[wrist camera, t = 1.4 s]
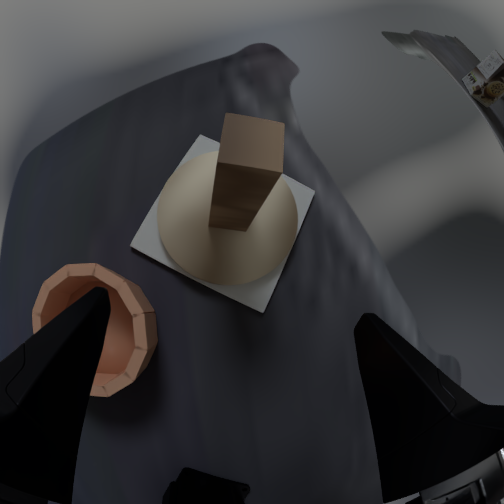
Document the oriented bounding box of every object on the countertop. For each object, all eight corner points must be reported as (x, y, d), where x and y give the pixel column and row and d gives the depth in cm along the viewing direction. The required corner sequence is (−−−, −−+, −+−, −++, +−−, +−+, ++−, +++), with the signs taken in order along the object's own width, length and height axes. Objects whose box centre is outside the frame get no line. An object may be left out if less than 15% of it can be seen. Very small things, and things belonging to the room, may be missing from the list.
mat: (313, 193, 25) (315, 191, 25) (262, 312, 22) (263, 313, 21) (200, 136, 24) (200, 134, 24) (131, 246, 21) (129, 245, 20)
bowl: (175, 305, 21) (169, 304, 16) (132, 399, 18) (118, 419, 14) (85, 254, 20) (62, 241, 16) (47, 344, 18) (20, 349, 13)
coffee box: (470, 95, 42) (507, 65, 26) (461, 79, 43) (494, 48, 28) (487, 109, 43) (521, 82, 28) (478, 92, 45) (510, 65, 29)
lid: (296, 167, 25) (349, 92, 14) (291, 292, 22) (365, 275, 12) (172, 148, 23) (165, 57, 12) (147, 275, 20) (101, 244, 10)
